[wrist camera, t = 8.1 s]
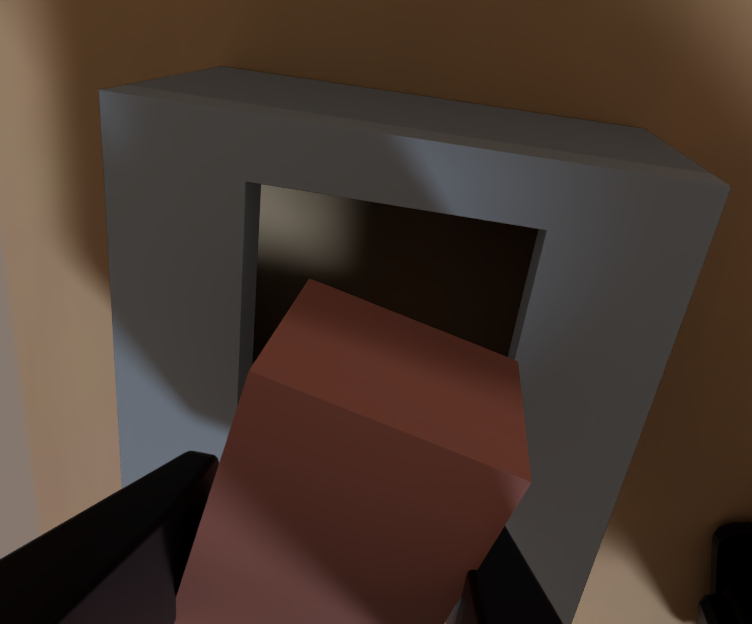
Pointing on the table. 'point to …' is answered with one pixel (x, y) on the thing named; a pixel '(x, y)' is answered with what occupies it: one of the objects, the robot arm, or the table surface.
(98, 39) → the table surface
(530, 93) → the table surface
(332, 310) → the pink rectangular block
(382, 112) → the posting box
